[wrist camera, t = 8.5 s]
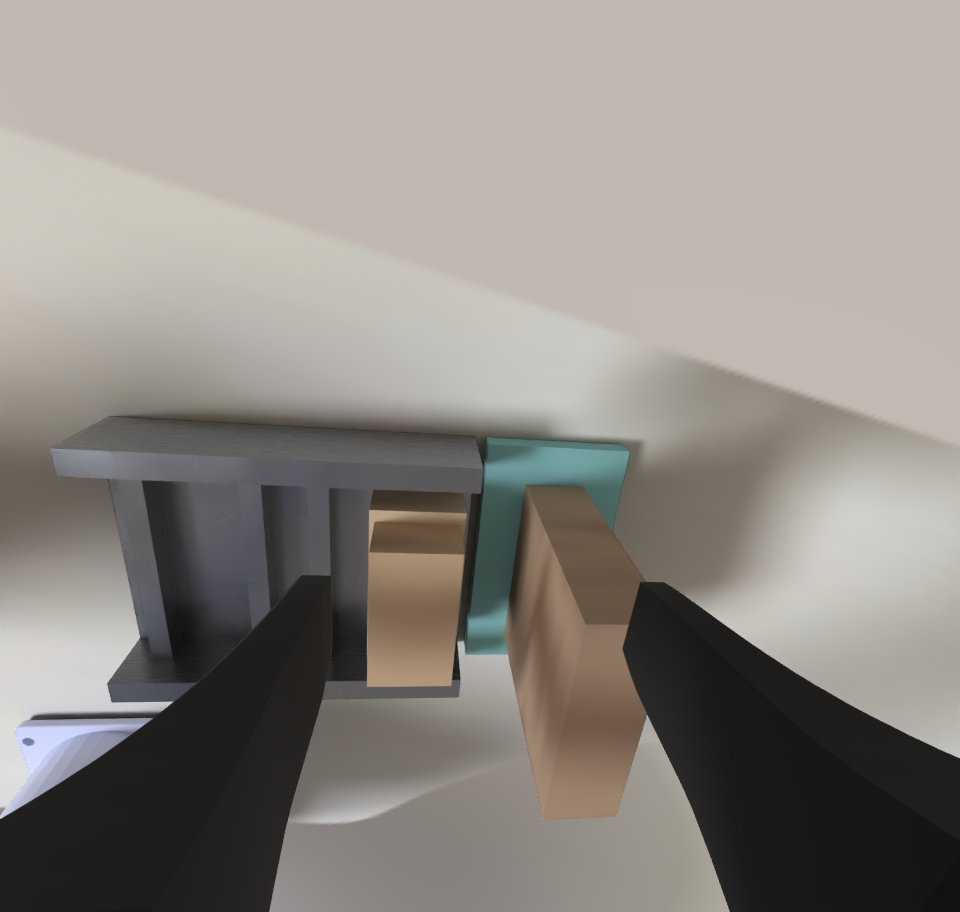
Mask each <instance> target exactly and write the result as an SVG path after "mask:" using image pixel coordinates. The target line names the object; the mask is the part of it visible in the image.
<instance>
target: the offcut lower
mask: <svg viewBox="0 0 960 912" xmlns="http://www.w3.org/2000/svg"><path fill="white" fill-rule="evenodd" d="M466 516H467V512H466V506H465V500H464V493H450V492H425V491H400V490H375V489H373V494H372V499H371V503H370V508H369V550H370V544H371V538H372V533H373V527H374V522H384V523H416V524H448V525H460V526H461V534H462V541H463V546H464V536H465V526H466ZM368 584H369V552H368ZM367 650H368V620H367Z"/></svg>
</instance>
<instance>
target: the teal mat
mask: <svg viewBox="0 0 960 912" xmlns="http://www.w3.org/2000/svg"><path fill="white" fill-rule="evenodd" d="M629 454H630V451H629V450H628V449H627V448H626V447H625V446H624V445H619V444H601V443H583V442H565V441H547V440H529V439H511V438H493V437H487V438H486V447H485V456H484V465H483V477H482V486H481V494H480V502H479V512H478V521H477V530H476V539H475V549H474V558H473V567H472V576H471V586H470V595H469V604H468V613H467V622H466V632H465V641H464V644H465V654H466V655H486V654H508V652H507V647H506V642H505V637H504V630H505V623H506V616H507V609H508V602H509V595H510V588H511V581H512V575H513V568H514V561H515V554H516V547H517V540H518V533H519V526H520V519H521V512H522V506H523V499H524V492H525V485H549V486H572V487H583V488H584V490H585V491H586V493H587V494H588V496H589V497H590V499H591V500H592V502H593V503H594V505H595V506H596V508H597V509H598V511H599V512H600V514H601V515H602V517H603V518H604V520H605V521H606V523H607V524H608V526H609V527H610V529H611V530H612V529H613V525H614V520H615V516H616V511H617V507H618V502H619V498H620V494H621V489H622V485H623V480H624V476H625V471H626V467H627V463H628V458H629Z"/></svg>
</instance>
